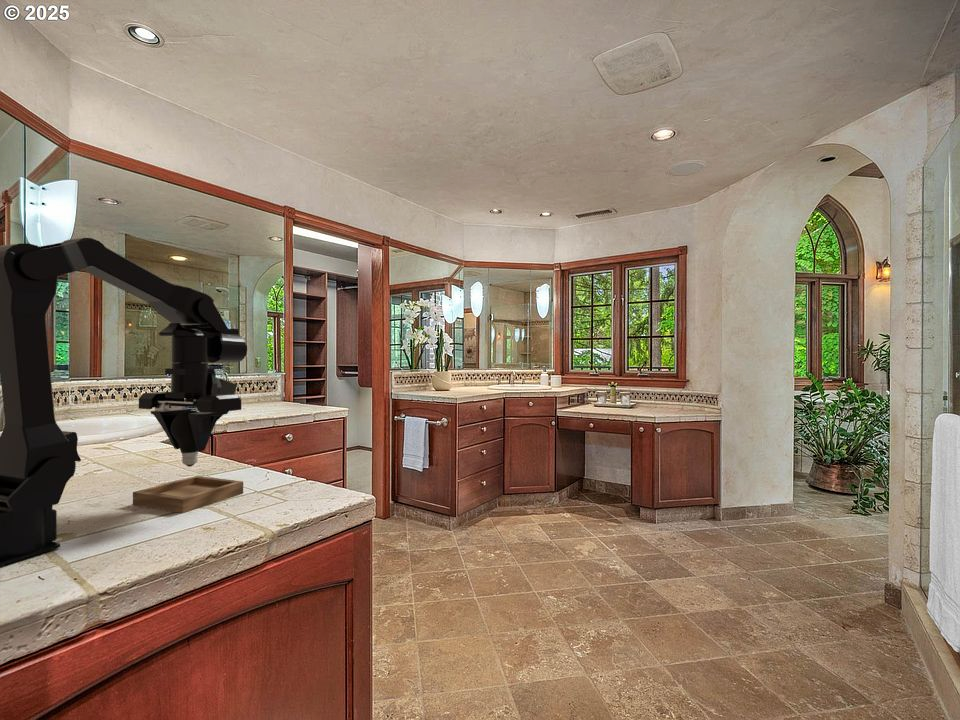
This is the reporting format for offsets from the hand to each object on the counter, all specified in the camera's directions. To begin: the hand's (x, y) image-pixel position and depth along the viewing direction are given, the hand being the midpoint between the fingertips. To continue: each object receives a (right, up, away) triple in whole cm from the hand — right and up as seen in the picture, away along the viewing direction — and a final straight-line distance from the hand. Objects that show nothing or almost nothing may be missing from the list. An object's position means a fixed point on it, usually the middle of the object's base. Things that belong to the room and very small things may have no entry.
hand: (189, 449), depth 84 cm
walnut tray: (0, -9, 0) cm, 9 cm away
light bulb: (0, -3, 0) cm, 3 cm away
